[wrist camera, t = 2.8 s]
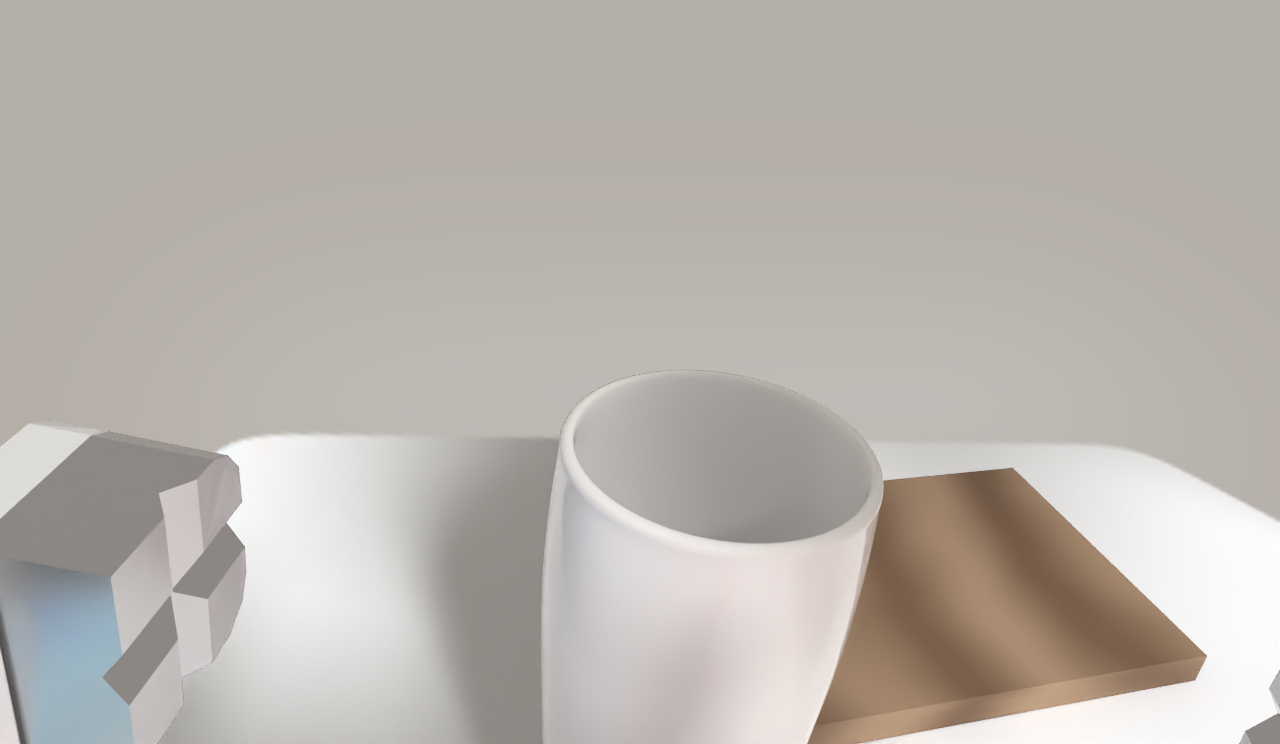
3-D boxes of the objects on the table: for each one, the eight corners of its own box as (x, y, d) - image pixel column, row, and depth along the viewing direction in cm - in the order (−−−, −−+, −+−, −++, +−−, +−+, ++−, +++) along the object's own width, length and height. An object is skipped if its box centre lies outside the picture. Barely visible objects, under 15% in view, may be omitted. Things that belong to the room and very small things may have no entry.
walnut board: (1005, 489, 50) (1012, 467, 49) (1194, 680, 40) (1207, 656, 40) (631, 529, 44) (635, 505, 43) (747, 763, 34) (754, 736, 34)
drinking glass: (532, 791, 32) (579, 347, 25) (759, 826, 32) (872, 389, 25) (485, 1019, 26) (528, 522, 19) (763, 1062, 26) (911, 579, 19)
